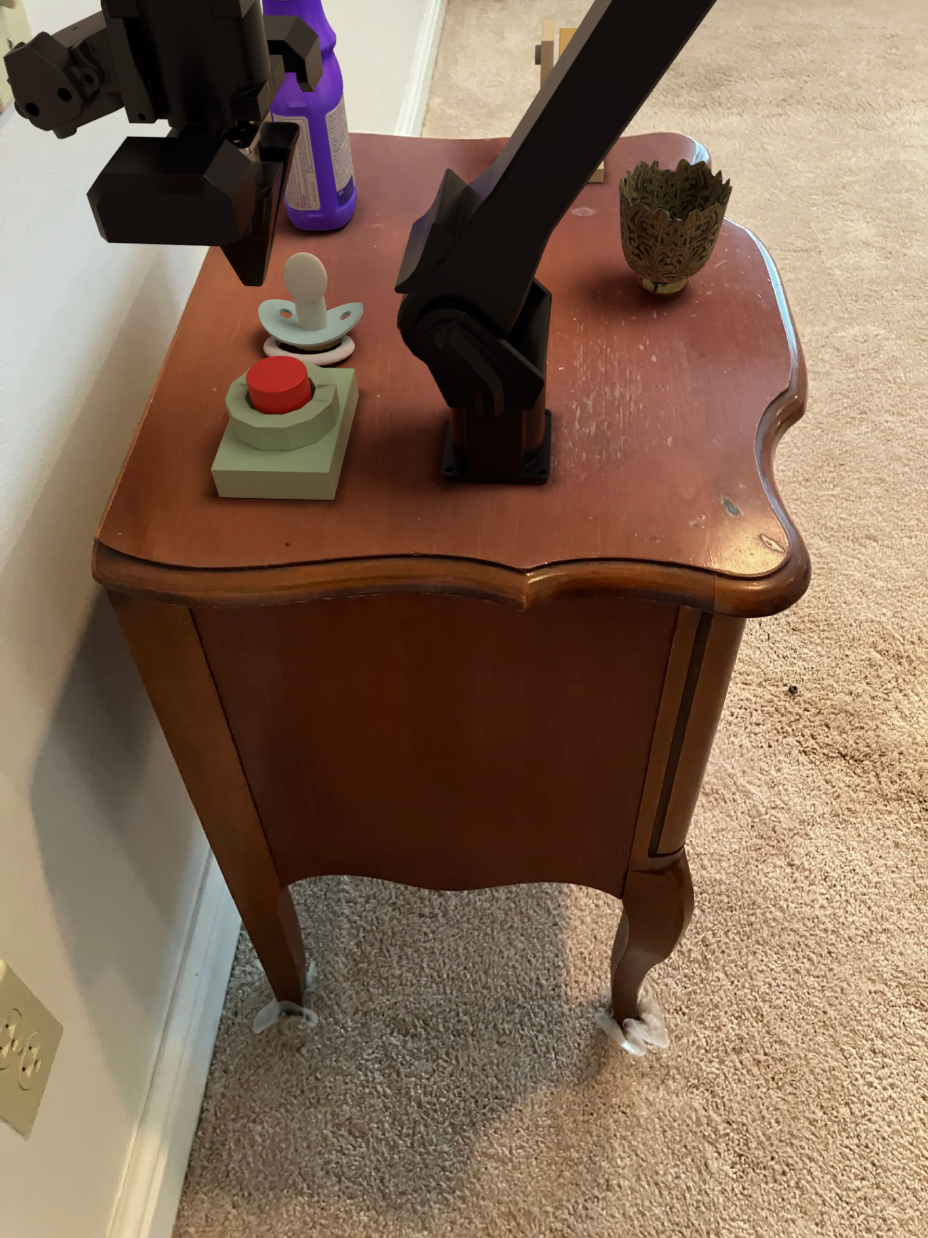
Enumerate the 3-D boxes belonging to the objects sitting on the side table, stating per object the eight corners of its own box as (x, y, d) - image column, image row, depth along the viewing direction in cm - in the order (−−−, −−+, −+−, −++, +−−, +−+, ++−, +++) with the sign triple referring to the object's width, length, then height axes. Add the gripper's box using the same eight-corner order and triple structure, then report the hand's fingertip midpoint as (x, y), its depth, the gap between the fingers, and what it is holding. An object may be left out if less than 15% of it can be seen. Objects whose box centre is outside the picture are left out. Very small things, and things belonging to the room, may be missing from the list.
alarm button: (305, 416, 55) (300, 392, 54) (245, 415, 56) (239, 391, 54) (316, 379, 58) (311, 355, 56) (258, 378, 58) (252, 354, 57)
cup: (709, 263, 71) (728, 156, 65) (716, 319, 66) (737, 209, 60) (610, 262, 72) (619, 155, 65) (609, 317, 67) (619, 208, 61)
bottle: (297, 193, 81) (254, -47, 67) (363, 192, 80) (333, -49, 67) (283, 237, 76) (234, -11, 62) (353, 236, 76) (319, -14, 62)
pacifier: (354, 375, 64) (372, 322, 68) (341, 294, 59) (360, 241, 63) (251, 370, 65) (273, 318, 68) (229, 289, 60) (254, 238, 64)
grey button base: (334, 500, 56) (323, 448, 53) (219, 497, 57) (202, 445, 54) (358, 395, 62) (350, 343, 59) (255, 394, 63) (242, 342, 60)
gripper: (77, -119, 46) (164, 195, 58) (-111, 23, 34) (47, 380, 46) (301, -120, 45) (342, 200, 57) (186, 26, 33) (269, 391, 45)
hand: (254, 282), depth 51 cm, fingers closed
